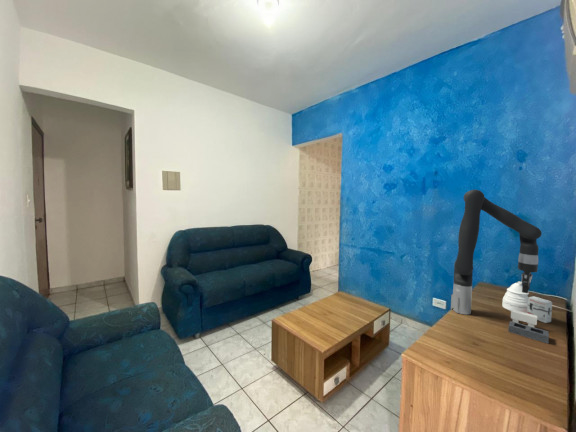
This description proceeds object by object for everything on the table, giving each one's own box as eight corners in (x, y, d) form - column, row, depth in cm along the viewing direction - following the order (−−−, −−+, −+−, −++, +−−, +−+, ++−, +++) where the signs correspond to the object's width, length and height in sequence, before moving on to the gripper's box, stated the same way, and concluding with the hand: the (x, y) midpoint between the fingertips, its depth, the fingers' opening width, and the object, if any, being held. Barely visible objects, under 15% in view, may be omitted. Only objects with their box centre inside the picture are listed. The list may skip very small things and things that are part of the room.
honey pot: (536, 313, 141) (538, 284, 140) (515, 313, 141) (517, 284, 140) (516, 304, 154) (518, 277, 153) (496, 304, 154) (498, 277, 153)
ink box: (526, 316, 138) (527, 296, 137) (531, 315, 139) (533, 295, 139) (546, 323, 130) (547, 302, 129) (551, 322, 131) (552, 301, 131)
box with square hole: (508, 331, 122) (508, 325, 121) (509, 326, 126) (509, 320, 126) (548, 343, 111) (548, 336, 111) (548, 338, 116) (548, 331, 116)
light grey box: (510, 323, 130) (511, 311, 130) (510, 321, 132) (511, 309, 132) (536, 330, 123) (537, 317, 122) (536, 328, 125) (537, 315, 124)
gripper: (536, 265, 120) (534, 296, 121) (539, 261, 129) (536, 289, 130) (516, 262, 125) (514, 292, 126) (520, 258, 134) (518, 285, 136)
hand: (525, 290), depth 128 cm, fingers open, 8 cm apart
